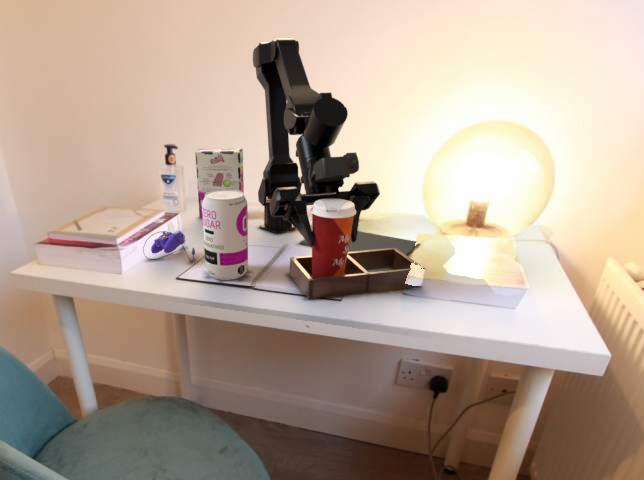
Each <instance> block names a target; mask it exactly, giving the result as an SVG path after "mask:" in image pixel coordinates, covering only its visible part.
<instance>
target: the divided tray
mask: <svg viewBox="0 0 644 480" xmlns="http://www.w3.org/2000/svg"><path fill="white" fill-rule="evenodd" d="M414 261H415V260H414V259H412V258H411V257H409V255H408V254H407V255H405V254H404V253H402V252H401V251H399V250H398V249H397V248H386V249H375V250H365V251H354V252H348V254H347V260H346V265H345V271H344V275H340V276H330V277H320V278H312V254H311V255H301V256H291V257H289V276H290V278H291V279H292V280H293V281H294V283H295V284H296V285H297V286H298V288H299V289H300V290H301V291H302V293H303V294H304V295H305V297H306V298H307V299H308V300H314V299H322V298H332V297H340V296H341V297H342V296H350V295H358V294H367V293H369V294H370V293H377V292H386V291H395V290H405V289H414V288H420V287H419V286H412V285H408V284H405V281H406V278H407V275H408V273H409V271H410V270H411V268H410V265H411V263H414ZM414 264H415V265H418V264H419V263H418V262H417V261H415V263H414ZM419 265H420V266H422V265H421V264H419ZM387 267H392V268H393V269H391V270H380V271H379V270H378V271H370V272H369V271H368V270H366V269H377V268H387ZM421 269H422V268H421ZM423 269H425V270H426V267H424V268H423Z"/></svg>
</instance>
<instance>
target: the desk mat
mask: <svg viewBox="0 0 644 480" xmlns="http://www.w3.org/2000/svg"><path fill="white" fill-rule="evenodd" d="M416 242H417V241H416V240H409V239H405V238H399V237H393V236H387V235H380V234H375V233H372V232H371V233H369V232H365V231H359V230H358V231H357V239H356V241H355V242H352V241H351V239H350V242H349V248H348V252H354V251H365V250H375V249H386V248H397V249H398V250H399V251H401V252H402V253H404V254H405V255H407V256H408V255H409V254H410V253H411V252H412V251H413V250H415V248H416V247H415V243H416ZM299 245H303V246H306V247H311V246H310V245H309V244H308V242H307V241H306V240H305V239H303V240H301V241H300V242H299Z"/></svg>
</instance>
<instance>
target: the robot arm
mask: <svg viewBox="0 0 644 480" xmlns="http://www.w3.org/2000/svg"><path fill="white" fill-rule="evenodd" d="M252 65H253V68H255V74H256V75H255V76H256V79H257V81H258V82H259V84H260V85H261V87H262V89H263V90H264V98H265V110H266V111H265V116H266V129H267V130H266V131H267V146H268V161H267V163H266V166H265V167H264V169H263V172H262V178H261V182H260V185H259V188H258V191H257V194H258V195H257V196H258V197H257V198H258V202H259V203H260V204H261V206H263V207H264V209H263V210H264V212H263V215H264V216H263V217H264V219H263V224H259V228H260V229H262V230H264V231H268V232H271V233H273V234H280V233H284V232H288V231H292V230H294V229H296V230H297V232H298V233H299V234H300V235H301V236H302V237H303V240H306V241H307V242H308V244H309V245H310V246H309V247H312V246H313V245H314V239H313V233H312V225H311V223H310V219H309V215H308V206H313V204H314V202H315V201H317V200H320V199H328V198H334V199H344V200H348V201H351V202H353V203H354V205H355V210H356V214H355V215H354V219H353V225H352V231H351V236H350V239H351V241H352V242H355V241H356V239H357V231H359V224H360V223H359V222H360V217H361V213H362V211H366V210H368V209H370V208H371V206H372V205H373V204H374V203H375V201H376V200H377V199H378V197H379V196H380V195H381V193H380V188H379V185H378V184H377V183H376V182H374V181H360V182H354V183H353V185H352V186H351V188H350V190H344V191H340V189H339V188H342V187H343V186H344V184H345V181H344V180H345V179H346V178H350V177H351V175H354V174H356V173H358V171H359V169H360V161H359V157H358V155H357V152H355V151H354V152H346V153H345V154H344V155H342V156H332V154H331V150H330V147H332V145H334V144H335V143H336V141H337V139H338V136H339V135H340V133H341V131H342V129H343V127H344V125H345V123H346V121H347V119H348V114H349V113H348V108H347V106H345V105H344V104H343V102H341V101H340V100H339V99H337V98H335V97H333V95H332V92H317V91H316V90H314V89H312V87H311V85H310V82H309V79H308V76H307V73H306V70H305V66H304V64H303V60H302V58H301V54H300V43H299V40H298V39H295V38H291V37H290V38H289V37H288V38H275V40H274V39H273V40H271V41H269V42H268V41H267V42H264V41H260V42H258V44H257V46H256V47H254V49H253V51H252ZM289 135H290V136H299V138H298V139H297V140H296V143H295V149H296V150H295V157H296V158H297V159H298V162H299V166H298V163H297V162H294V160H293V159H292V157H291V154H290V139H289V138H290V137H289ZM299 167H300V172H301V176H299ZM302 186H303V187H304V192H305V193H302V192H301V189H302Z"/></svg>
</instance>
